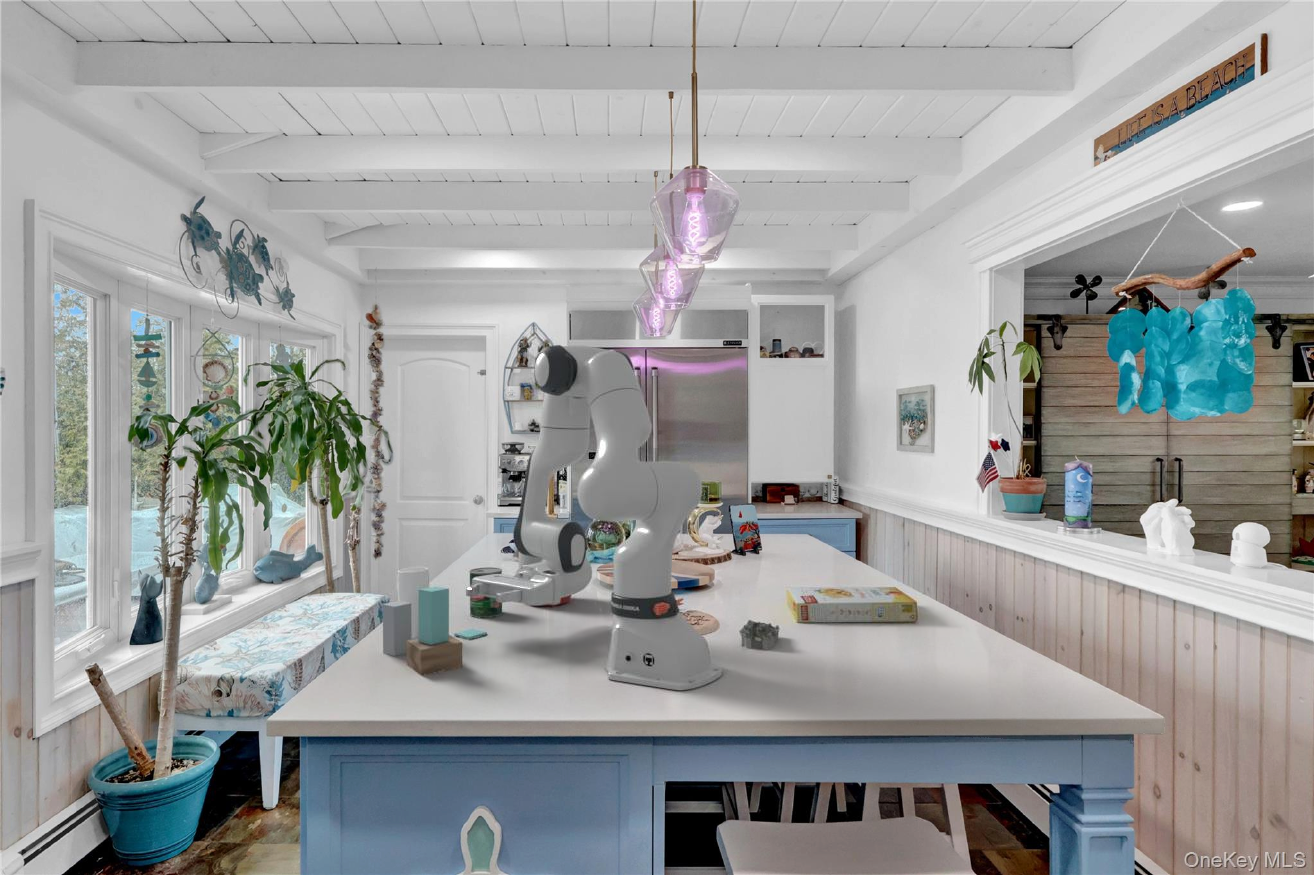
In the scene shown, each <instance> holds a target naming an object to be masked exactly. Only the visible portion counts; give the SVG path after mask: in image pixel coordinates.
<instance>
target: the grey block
mask: <svg viewBox="0 0 1314 875" xmlns="http://www.w3.org/2000/svg"><path fill="white" fill-rule="evenodd" d="M407 640H412V629H411V603H408V602H404V601H398V600H396V601H391V602H387V603H383V604H382V653H383V654H385V655H389V656H391V657H397V656H402V655H405V654H407Z"/></svg>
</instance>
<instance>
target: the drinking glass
mask: <svg viewBox="0 0 1314 875" xmlns="http://www.w3.org/2000/svg"><path fill="white" fill-rule="evenodd" d="M396 573H397V574H396V588H397V589H396V590H397V592H396V593H397V601H404V602H408V603H411V629H412V639H418V610H419V589H424V588H430V568H429V567H425V566H410V567H409V566H407V567H406V566H405V567H402V568H399V569H398V570H397V572H396Z"/></svg>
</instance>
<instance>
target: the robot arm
mask: <svg viewBox="0 0 1314 875" xmlns="http://www.w3.org/2000/svg"><path fill="white" fill-rule="evenodd" d="M533 367H534V368H533V374H534V381H535V383H536V385H537V387H538V388H539V389H540V391H541V392H543V393H544V396H543V402H542V407H541V414H540V415H541V416H540V429H539V431H540V432H539V437H538V441H537V444H536V446H535V448H534V449H533V450H532V451H531V453H530V455H529V457H528V461H527V465H526V470H525V471H526V472H525V476H524V483H523V489H522V496H521V502H520V507H519V512H518V516H517V519H516V522H515V526H514V529H513V543H514V545H515V548H516V550H517V551H519V552H520V553H521V554H523V555H526V556H533V557H541V558H542V561H541V562H539V563H534V564H529V565H524V566H521V567H520V568H519V567H518V569H517V570H516V572H515V573H514V575H509V574H503V573H502V574H492V575H485V576H478V577H474V578H473V579H472V587H470V586H469V587H466V588H465V595H466V597H469V598H470V597H473V596H477V595H481V596H486V597H491V598H496V602H500V603H502V604H503V603H510V602H511V603H512V602H513V603H518V604H523V605H525V606H528V607H529V606H540V605H545V604H550V605H555V604H558V605H560V604H559V603H560V599H561V598H563V597H566V596H570V595H571V596H572V595H575V594H577V593H580V592H581V591H582V590H584V589H585V588H587V587H588V585H589V584H590V582H591V580H592V577H593V568H592V565H591V563H590V561H589V560H588V558H587V555H586V554H587V546H588V544H587V542H588V541H587V536H586V531H585V530H584V528H583V527H582V525H581V524H580V523H579V522H577V521H572V520H567V519H564V518H557V517H553V516H549V515H548V513H547V511H546V510H547V509H546V507H547V502H548V495H549V489H550V483H551V480H552V477H553V476H554V475H555V474H556V473H557V472H558V471H560V470H562V469H565V468H568V467H571V466H573V465H575V464H576V463H578V462H579V461H581V459H582V458H583V457H584V456H585V455H586V453H587V452H588V448H589V444H590V433H591V432H590V430H591V427H590V426H591V419H592V424H593V427H594V432H595V433H594V434H595V439H596V451H595V455H594V459H593V461H592V463H591V465H589V467H588V468H587V469H586V470H585V471H584V472H583V474H582V475H581V477H580V478H579V481H578V484H577V492H576V494H577V501H578V504H579V507H580V508H581V510H582V512H583V513H584V514H585V515H586V517H588V518H589V519H591V520H597V521H602V522H610V523H617V522H627V521H628V522H629V521H630V522H631V521H635V525H634V526H635V527H634V528H633V530H632V532H631V534H630V536H629V537H628V538H627V539H625V540H624V541H622V542H621V543H620V544H619V545H618V546H617V547H616V549H615V550H614V553H613V555H612V556H613V557H612V559H613V560H612V563H613V564H612V565H613V566H612V569H613V570H612V571H613V572H612V576H613V578H612V579H613V580H612V582H613V585H612V586H613V588H612V589H613V591H612V592H611V597H610V599H611V600H610V611H611V613H612V627H611V628H612V630H611V635H610V636H611V637H610V645H609V650H608V655H607V658H606V659H607V660H606V662H605V666H604V668H605V670H606V672H607V679H609V680H612V681H618V682H624V683H629V684H635V685H636V684H637V685H642V686H643V685H644V686H649V687H654V688H656V687H657V688H661V689H666V690H667V689H668V690H673V691H674V690H675V691H685V690H691V689H692V690H693V689H696V688H700V687H702V686H705V685H707V684H710V683H711V682H714V681H716V680H717V679H718V678H720V677H721V676H722V675H723V666H722V665H720V664H718V663H716V662H715V663H714V662H712V661H711V656H710V648H709V645H708V641H707V639H706V638H705V636H703V635H702V634H701V633H700V632H699V631H698V630H697V629H696V628H695V627H694V626H692V624H691V623H690V622H689V621H687V619H686V618H684V616H682V615H681V613H680V608H679V606H681V605H684V602H682V601H684V598H679V599H676V596H675V593H674V592H673V591H672V571H673V570H672V569H673V568H672V567H673V566H672V565H673V552H674V548H675V543H676V540H677V538H678V537H677V536H678V535H679V532H680V531H681V530H680V529H681V528H682V526H683V524H684V522H685V521H686V519H687V518H688V516H689V515H690V514H691V513H692V512H693V511H694V510H695V509H696V508H697V507H698V505H699V503H700V502H701V498H702V495H703V484H702V480H701V477H700V476H699V473H698V472H697V470H696V469H695V468H694V467H693V466H692V465H688V464H685V463H681V462H676V461H672V460H671V461H670V460H669V461H667V460H664V461H663V460H661V461H641V460H640V459H639V456H638V449H639V448H640V447H642V446H643V445H645V443H646V442H647V441H648V440H649V438H650V436H651V433H652V429H653V426H652V425H653V424H652V420H651V417H650V414H649V410H648V407H647V405H646V402H645V399H644V395H643V390H642V389H641V386H640V383H639V380H638V377H637V375H636V373H635V370H634V365H633V362H632V359H631V358H630V356H629V355H628V354H626V353H625V352H623V351H619V350H616V349H606V348H605V349H604V348H601V347H600V348H599V347H594V346H591V347H590V346H587V345H563V346H562V345H560V344H557V345H556V344H555V345H549V346H546V347H543V348H542V349H541V350H540V351H539V352H538V354H537V355H536V358H535V360H534V366H533Z"/></svg>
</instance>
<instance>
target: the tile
mask: <svg viewBox="0 0 1314 875" xmlns="http://www.w3.org/2000/svg"><path fill="white" fill-rule="evenodd" d="M453 634H454V636H453V637H455V636H459V637H462V638H461V639H463V638H466V639H465V640H467V639H470V640H472V639H471V638H474V639H476V638H475V637H477V638H479V637H478V636H481V637H483V636H482V635H485V634H487V635H488V632H487V631H485V630H484V631H483V630H480V629H475V628H471V629H467V630H463V631H459V632H454V633H453ZM485 636H486V635H485ZM459 637H458V638H459Z"/></svg>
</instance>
